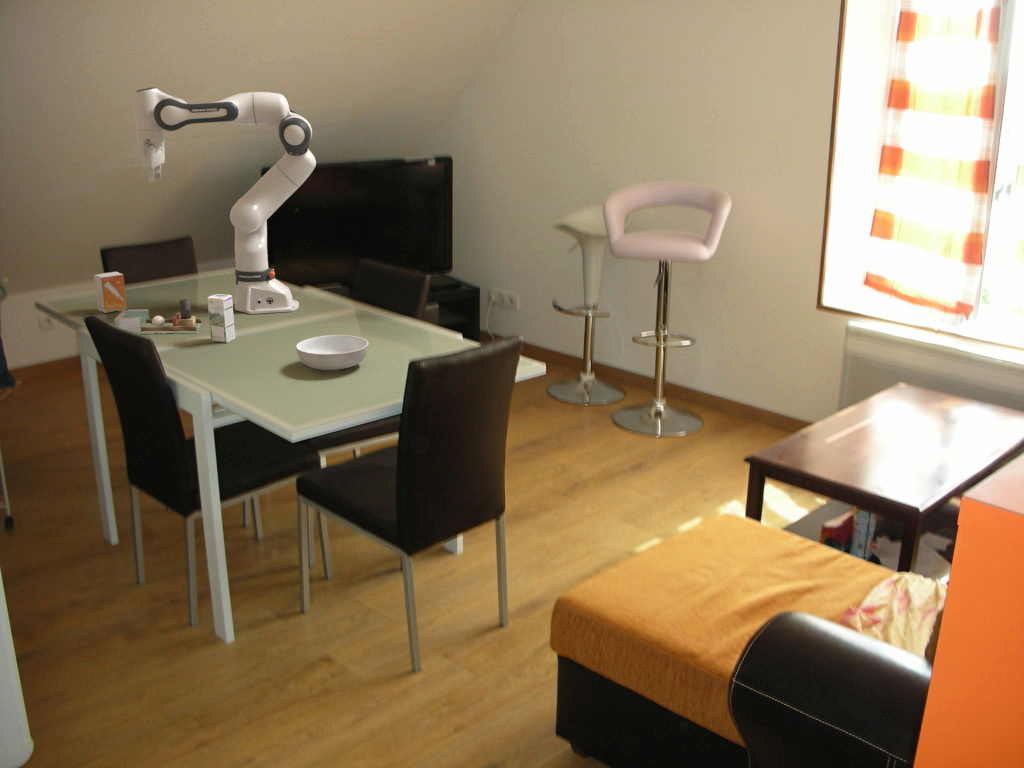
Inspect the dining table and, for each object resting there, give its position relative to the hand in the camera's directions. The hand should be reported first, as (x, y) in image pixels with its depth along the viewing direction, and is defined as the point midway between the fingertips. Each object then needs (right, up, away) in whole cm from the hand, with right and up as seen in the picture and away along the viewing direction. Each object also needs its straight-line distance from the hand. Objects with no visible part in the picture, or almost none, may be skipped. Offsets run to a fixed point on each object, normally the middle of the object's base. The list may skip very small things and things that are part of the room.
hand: (155, 180), depth 353 cm
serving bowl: (+68, -64, -46) cm, 104 cm away
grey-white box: (-4, -51, -9) cm, 52 cm away
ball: (+4, -48, -9) cm, 49 cm away
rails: (+8, -51, -8) cm, 52 cm away
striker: (+13, -50, -7) cm, 53 cm away
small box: (-20, -43, +14) cm, 50 cm away
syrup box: (+29, -55, -21) cm, 66 cm away
